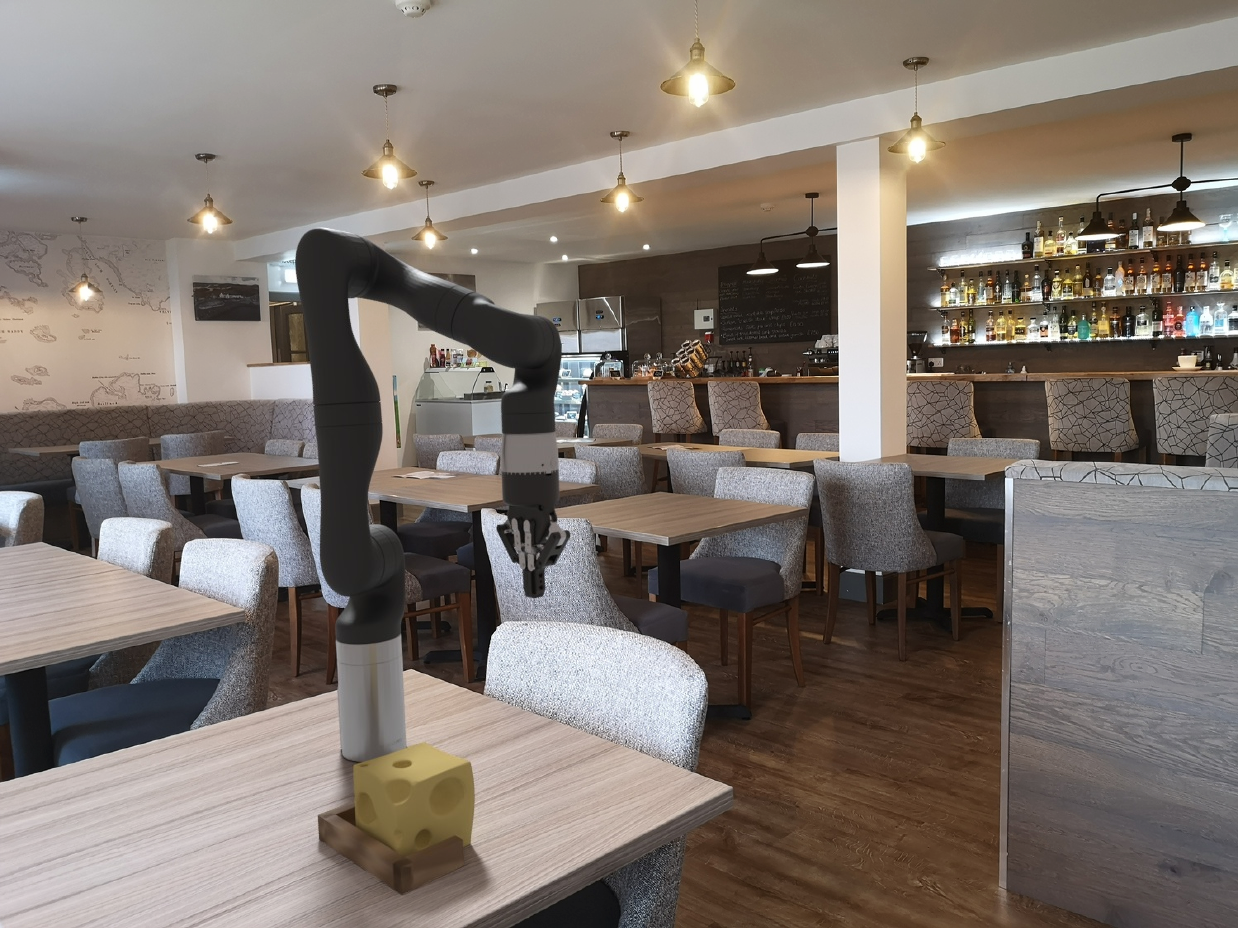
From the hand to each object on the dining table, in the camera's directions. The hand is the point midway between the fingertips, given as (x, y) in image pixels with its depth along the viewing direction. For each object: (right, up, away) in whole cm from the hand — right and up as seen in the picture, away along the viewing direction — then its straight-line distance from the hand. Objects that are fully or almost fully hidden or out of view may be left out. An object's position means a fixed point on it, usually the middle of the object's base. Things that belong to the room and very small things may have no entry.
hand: (534, 596), depth 124 cm
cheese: (-13, -27, -15) cm, 33 cm away
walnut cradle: (-15, -27, -17) cm, 35 cm away
